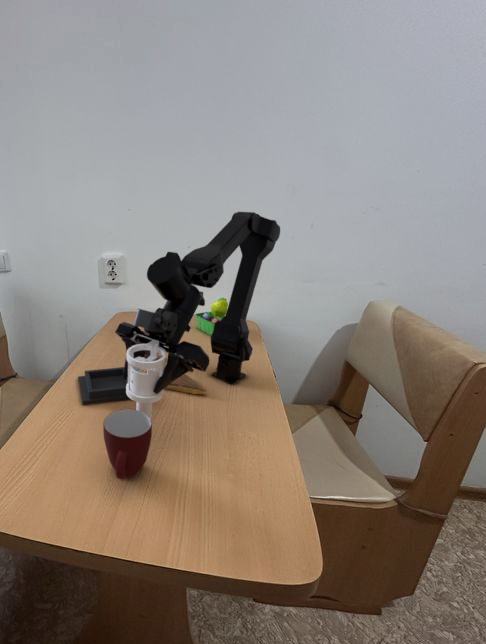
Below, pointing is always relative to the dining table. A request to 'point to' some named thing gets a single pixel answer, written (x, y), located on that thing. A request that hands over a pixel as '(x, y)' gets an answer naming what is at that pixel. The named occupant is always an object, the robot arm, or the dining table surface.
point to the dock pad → (103, 386)
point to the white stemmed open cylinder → (145, 375)
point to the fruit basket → (212, 316)
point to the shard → (186, 385)
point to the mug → (127, 440)
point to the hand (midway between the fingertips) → (139, 385)
